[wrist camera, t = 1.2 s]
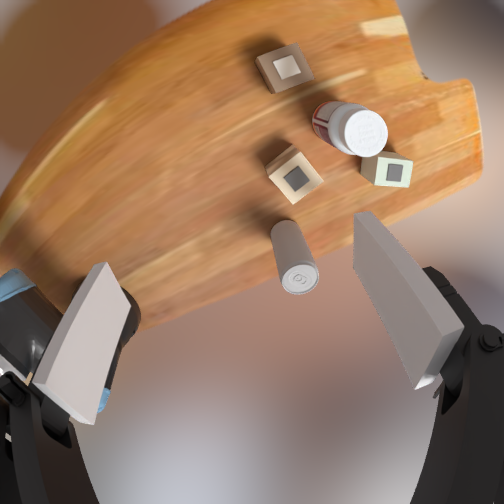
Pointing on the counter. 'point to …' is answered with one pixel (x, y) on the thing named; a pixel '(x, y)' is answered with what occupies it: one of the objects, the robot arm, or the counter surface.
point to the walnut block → (284, 68)
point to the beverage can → (293, 258)
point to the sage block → (387, 169)
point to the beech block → (293, 174)
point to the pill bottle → (350, 128)
